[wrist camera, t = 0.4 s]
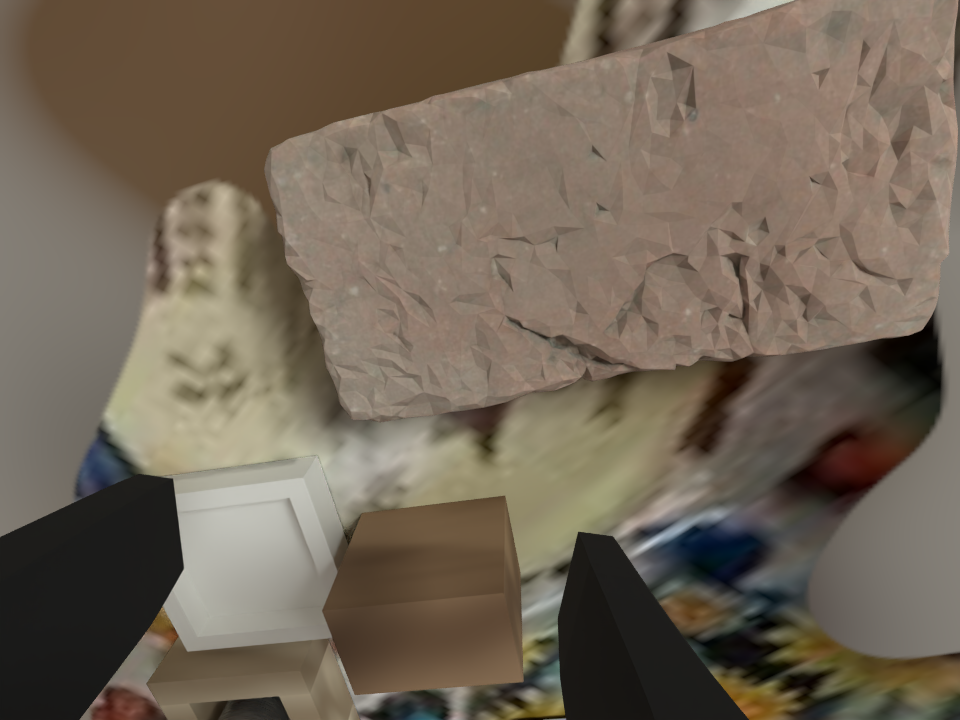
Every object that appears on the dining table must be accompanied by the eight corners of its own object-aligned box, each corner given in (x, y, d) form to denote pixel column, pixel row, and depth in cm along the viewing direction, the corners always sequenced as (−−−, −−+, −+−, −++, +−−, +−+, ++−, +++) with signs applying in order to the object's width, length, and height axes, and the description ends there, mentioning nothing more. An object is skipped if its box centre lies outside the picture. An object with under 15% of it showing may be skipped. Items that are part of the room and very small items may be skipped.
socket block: (360, 721, 26) (346, 776, 24) (232, 730, 27) (206, 785, 25) (320, 619, 24) (299, 670, 21) (180, 633, 24) (146, 683, 22)
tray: (369, 606, 23) (360, 635, 22) (205, 622, 24) (187, 651, 23) (317, 455, 20) (303, 477, 19) (133, 480, 21) (107, 503, 20)
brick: (374, 382, 19) (336, 448, 15) (295, 147, 16) (219, 144, 12) (841, 288, 17) (955, 333, 13) (846, 0, 14) (997, -67, 10)
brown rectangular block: (520, 571, 22) (523, 682, 17) (386, 584, 23) (354, 694, 18) (505, 494, 21) (504, 592, 16) (362, 511, 21) (322, 610, 17)
